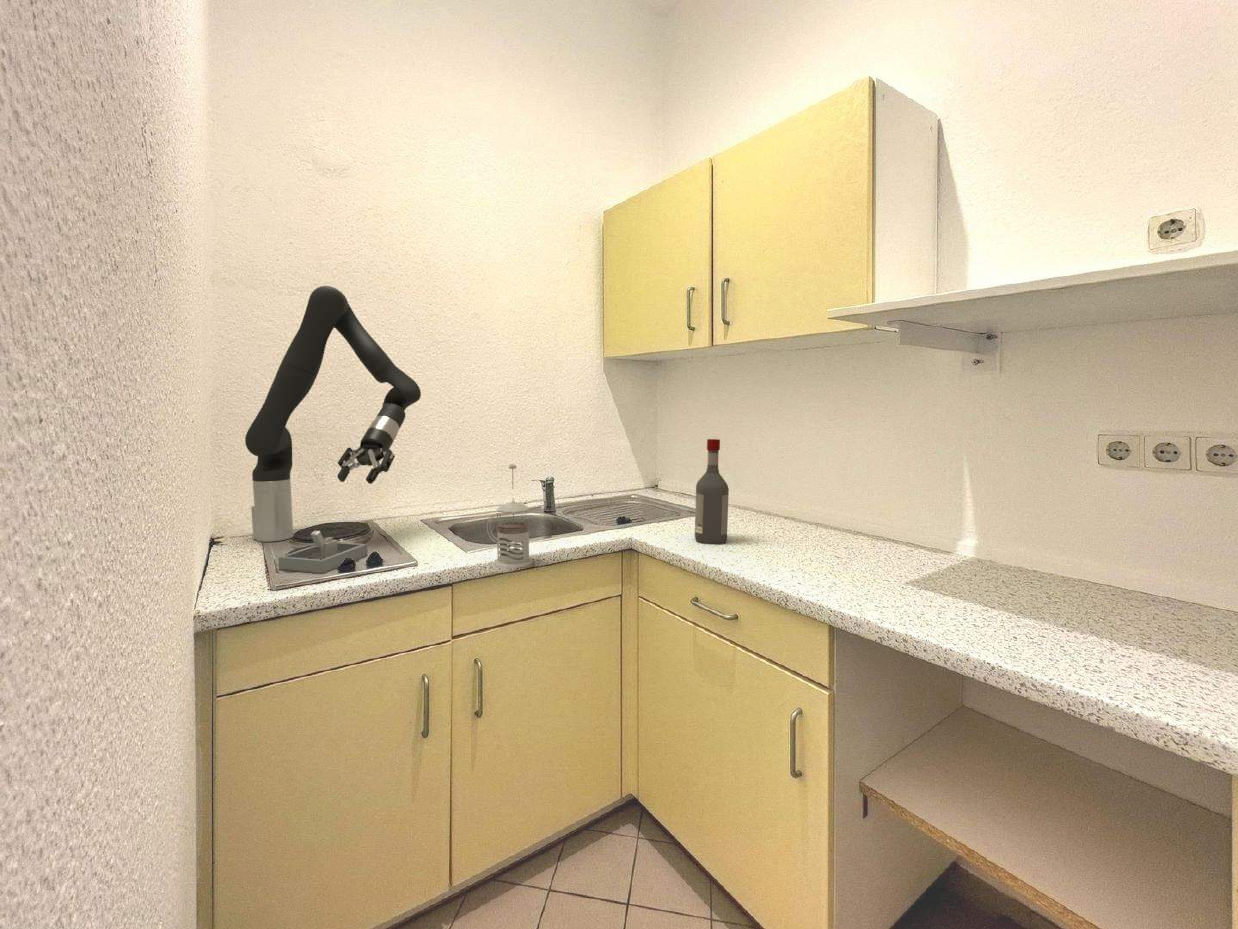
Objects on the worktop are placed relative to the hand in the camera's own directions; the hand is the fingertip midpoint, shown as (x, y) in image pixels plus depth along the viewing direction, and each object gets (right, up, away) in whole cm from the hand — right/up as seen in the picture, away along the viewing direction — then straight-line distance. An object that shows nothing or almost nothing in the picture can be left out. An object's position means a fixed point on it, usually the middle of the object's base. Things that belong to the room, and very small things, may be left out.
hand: (354, 481), depth 149 cm
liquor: (+97, -18, +18) cm, 101 cm away
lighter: (-3, -20, -9) cm, 22 cm away
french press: (+43, -20, -7) cm, 48 cm away
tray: (-3, -20, -10) cm, 22 cm away
